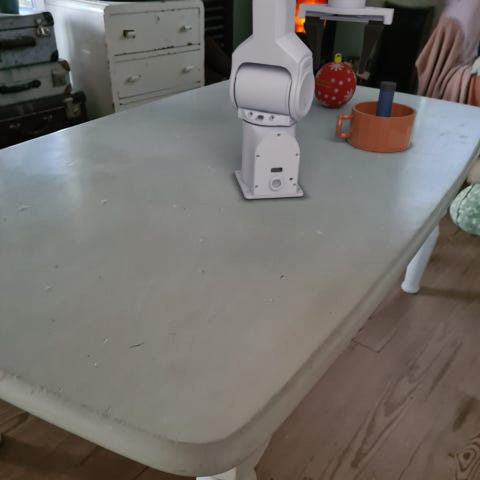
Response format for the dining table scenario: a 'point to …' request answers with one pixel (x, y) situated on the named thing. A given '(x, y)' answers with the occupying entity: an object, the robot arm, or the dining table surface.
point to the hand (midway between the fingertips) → (338, 71)
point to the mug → (378, 127)
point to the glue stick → (385, 99)
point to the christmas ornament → (335, 83)
